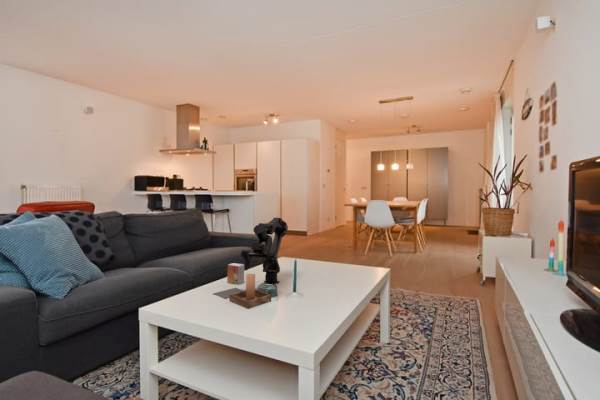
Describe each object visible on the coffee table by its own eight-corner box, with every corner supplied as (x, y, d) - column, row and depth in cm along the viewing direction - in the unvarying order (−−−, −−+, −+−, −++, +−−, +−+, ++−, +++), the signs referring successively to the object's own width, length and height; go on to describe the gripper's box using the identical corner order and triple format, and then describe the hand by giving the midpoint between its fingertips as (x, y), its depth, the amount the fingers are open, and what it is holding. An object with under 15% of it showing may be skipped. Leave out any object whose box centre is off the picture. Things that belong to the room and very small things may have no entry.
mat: (235, 288, 172) (235, 287, 172) (248, 293, 164) (248, 292, 164) (212, 294, 161) (212, 293, 161) (225, 300, 154) (225, 298, 154)
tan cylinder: (251, 298, 155) (251, 273, 154) (256, 300, 152) (257, 275, 152) (244, 300, 152) (244, 274, 151) (249, 303, 149) (250, 276, 149)
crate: (252, 295, 162) (252, 288, 162) (271, 302, 152) (271, 294, 152) (229, 301, 152) (229, 294, 151) (247, 309, 142) (247, 302, 142)
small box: (227, 282, 183) (227, 264, 182) (233, 280, 188) (233, 262, 187) (238, 284, 179) (238, 266, 179) (244, 282, 184) (244, 264, 183)
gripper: (241, 234, 165) (232, 261, 156) (275, 236, 161) (267, 264, 151) (248, 246, 174) (239, 272, 164) (280, 248, 169) (273, 275, 159)
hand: (254, 270), depth 160 cm, fingers open, 9 cm apart
